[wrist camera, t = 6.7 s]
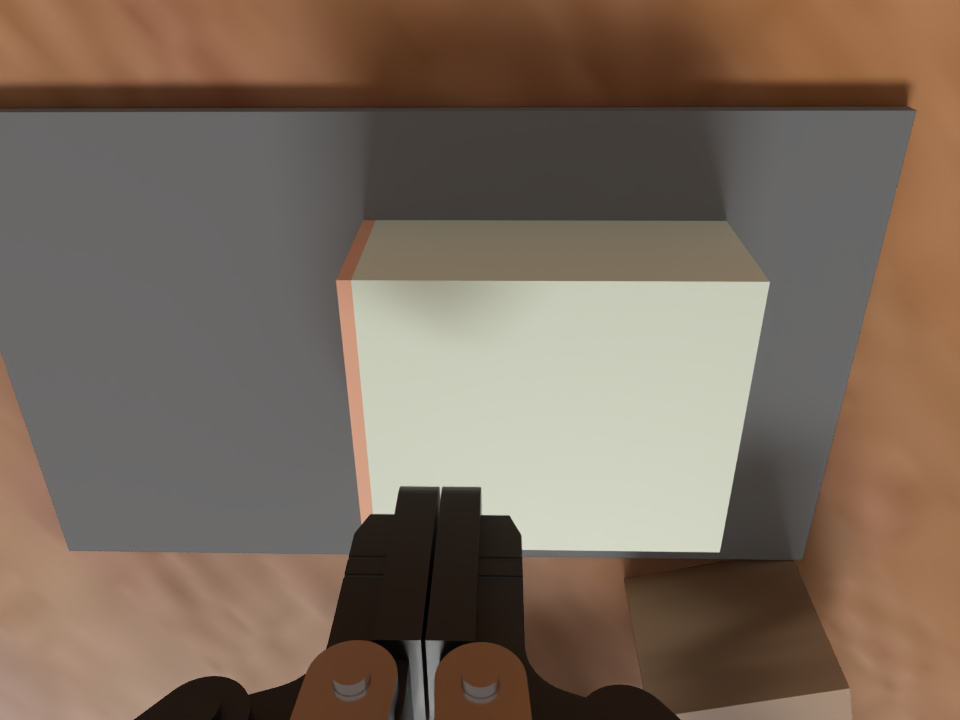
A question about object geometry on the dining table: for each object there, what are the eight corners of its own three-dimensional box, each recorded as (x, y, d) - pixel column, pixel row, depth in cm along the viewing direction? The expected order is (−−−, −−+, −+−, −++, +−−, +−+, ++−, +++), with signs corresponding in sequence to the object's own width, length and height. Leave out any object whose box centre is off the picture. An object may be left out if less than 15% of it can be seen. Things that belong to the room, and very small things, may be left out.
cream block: (363, 220, 19) (726, 220, 19) (383, 460, 22) (689, 463, 22) (335, 280, 16) (770, 281, 16) (364, 547, 19) (719, 552, 19)
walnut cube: (787, 547, 24) (850, 688, 20) (800, 658, 27) (858, 806, 22) (623, 577, 25) (648, 718, 21) (650, 682, 27) (677, 829, 23)
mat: (908, 106, 18) (915, 110, 17) (798, 550, 24) (802, 560, 24) (-71, 108, 18) (-82, 112, 18) (75, 541, 25) (69, 550, 24)
